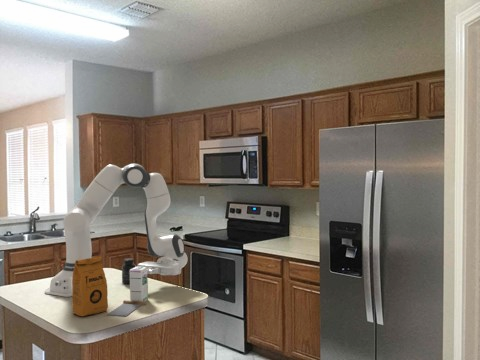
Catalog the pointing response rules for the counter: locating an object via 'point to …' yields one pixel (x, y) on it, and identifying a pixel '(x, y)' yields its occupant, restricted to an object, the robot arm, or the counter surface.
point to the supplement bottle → (127, 270)
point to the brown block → (134, 302)
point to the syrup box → (138, 284)
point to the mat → (124, 310)
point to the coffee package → (89, 287)
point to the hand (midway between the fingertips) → (148, 272)
